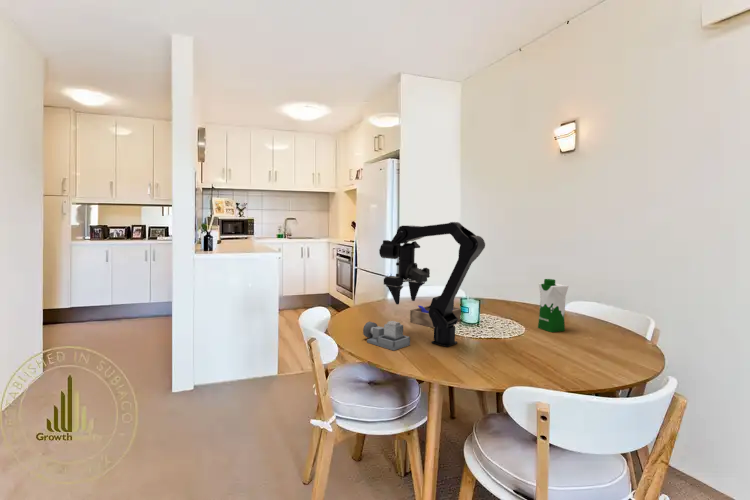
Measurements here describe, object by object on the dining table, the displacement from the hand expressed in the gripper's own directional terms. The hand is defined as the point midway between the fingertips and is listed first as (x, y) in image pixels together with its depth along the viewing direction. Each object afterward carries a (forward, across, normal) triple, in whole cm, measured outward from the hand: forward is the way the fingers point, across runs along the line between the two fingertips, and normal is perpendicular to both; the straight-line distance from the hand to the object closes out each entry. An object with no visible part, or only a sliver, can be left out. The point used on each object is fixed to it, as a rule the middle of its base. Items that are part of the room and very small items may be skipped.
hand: (405, 302), depth 147 cm
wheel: (+12, -12, +6) cm, 18 cm away
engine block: (+11, -12, -5) cm, 17 cm away
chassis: (+12, -12, -3) cm, 17 cm away
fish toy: (+11, +26, +4) cm, 29 cm away
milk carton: (+12, +49, -35) cm, 61 cm away
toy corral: (+12, +26, +4) cm, 29 cm away
